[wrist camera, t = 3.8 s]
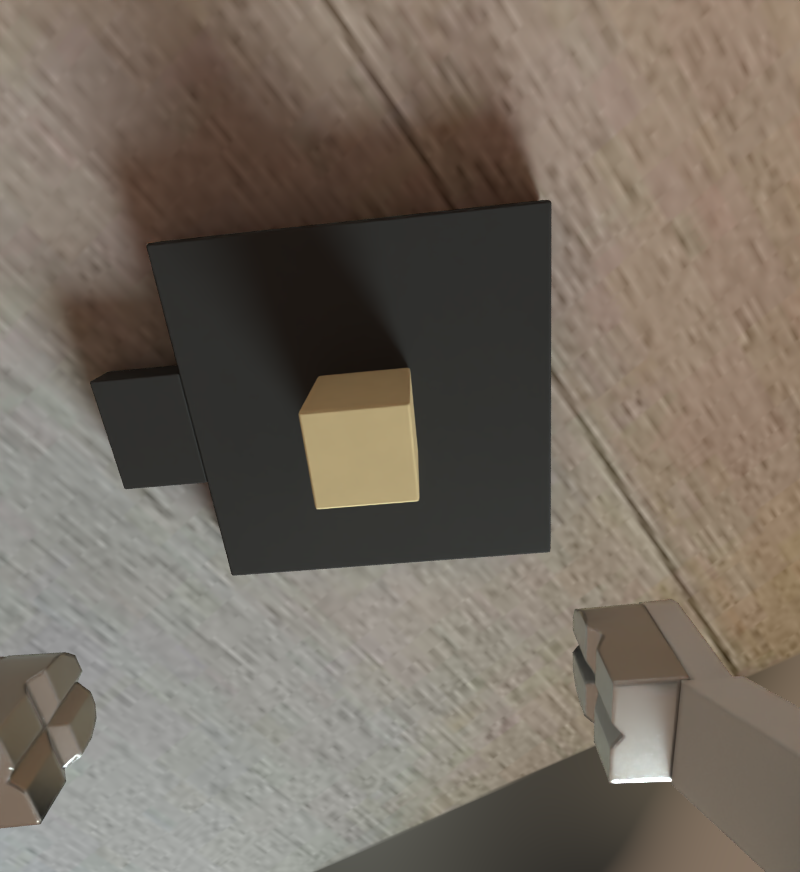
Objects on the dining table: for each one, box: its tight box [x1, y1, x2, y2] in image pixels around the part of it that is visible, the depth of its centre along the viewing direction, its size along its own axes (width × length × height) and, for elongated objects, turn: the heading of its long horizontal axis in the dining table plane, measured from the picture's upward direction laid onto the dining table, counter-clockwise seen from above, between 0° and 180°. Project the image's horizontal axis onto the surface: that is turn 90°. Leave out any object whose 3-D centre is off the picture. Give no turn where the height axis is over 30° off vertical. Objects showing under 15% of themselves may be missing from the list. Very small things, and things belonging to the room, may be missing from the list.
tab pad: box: [90, 200, 551, 575], centre depth 17 cm, size 15×12×5 cm
